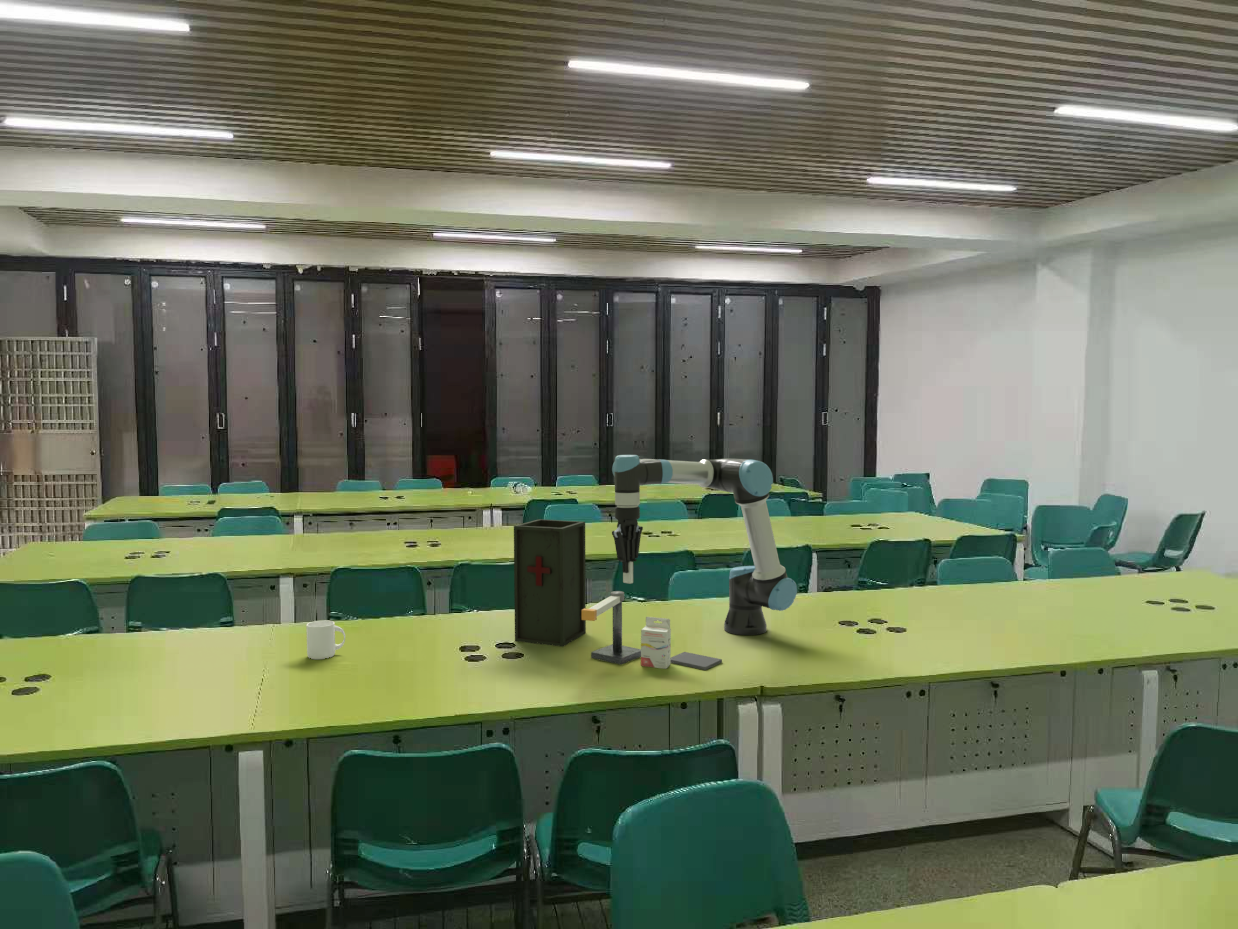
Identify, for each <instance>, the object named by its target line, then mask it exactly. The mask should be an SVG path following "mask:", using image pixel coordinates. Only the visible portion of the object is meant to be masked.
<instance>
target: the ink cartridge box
mask: <svg viewBox="0 0 1238 929" xmlns="http://www.w3.org/2000/svg"><path fill="white" fill-rule="evenodd" d="M657 621H658V622H657ZM659 622H660V623H659ZM640 631H641V632H640V634H641V635H640V649H641V657H640V666H641V667H647V668H656V669H657V668H658V669H664V670H666V669H668V668H669V667H670V665H671V663H670V658H671V648H672V647H671V645H672V642H671V640H672V638H671V637H672V633H671V632H672V628H671V619H670V618H667V617H666V618H665V617H664V618H663V617H654V616H646V617H645V626H644V627H643V628H641V630H640Z"/></svg>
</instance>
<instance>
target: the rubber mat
mask: <svg viewBox="0 0 1238 929" xmlns="http://www.w3.org/2000/svg"><path fill="white" fill-rule="evenodd" d="M721 663H723V659H722V658H717V657H712V656H707V655H704V654H703V655H702V654H698V653H697V654H696V653H693V652H687V651H683V652H681V653H678V654H675V655H674V656H670V664H673V665H674V664H675V665H679V666H683V667H689V668H693V669H698V670H703V671H708V670H709V669H711V668H714V667H715V666H718V665H719V664H721Z"/></svg>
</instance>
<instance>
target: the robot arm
mask: <svg viewBox="0 0 1238 929" xmlns="http://www.w3.org/2000/svg"><path fill="white" fill-rule="evenodd" d="M611 471H612V472H611V473H612V474H613V476H614V505H615V507H614V517H615V518H614V519H615V520H617V524H616V527H617V528H616V529H615V530H611V535H612V537H613V539H614V546H615V552H616V558H617V561H618V562H621V563H622V567H621V568H622V582H623V583H624V584H630V585H631V584H633V583H634V562H637V561H638V560H637V559H639V551H640V545H641V538H642V533H643V530H644V529H643V528H644V527H643V526H641V525H639V523H638V520H639V519H640V517H641V515H640V514H641V512H640V511H641V508H640V506H639V505H641V502H640V501H641V499H640V498H641V494H640V490H641V489H640V486H646V485H648V486H649V485H662V484H663V485H664V484H684V485H698V487H701V488H707V489H708V488H709V489H714V490H718V491H723V492H727V493H732V494H733V498H734V503H735V504H736V505H738V506H740V508H741V512H742V516H743V517H742V518H743V521H744V525H745V529H746V534H747V539H748V544H749V547H750V552H751V553H750V554H751V557H752V560H753V565H743V566H736V567H735V566H734V567H733V568H731V569H730V571H729V578H728V586H729V587H728V592H729V594H728V595H729V596H728V597H729V598H728V599H729V600H728V601H729V602H728V603H729V606H728V611H727V615H726V617H725V620H724V625H723V628H724V631H725V632H726V633H730V634H734V635H739V636H741V635H742V636H757V635H762V634H764V633H765V634H766V632H767V630H768V628H767V621H766V618H765V616H764V612H763V607H764V608H767V609H769V610H772V611H779V612H782V611H786V610H787V609H789V608H790V607H791V606H792V605H793V603H794V601H795V600H796V597H797V592H798V589H797V588H798V586H797V583H796V581H795V580H794V579H792V578H790V577H789V576H788V574H787V570H786V567H785V566H783V565H782V564H781V562H780V559H779V554H778V549H777V544H776V541H775V536H774V533H773V532H774V531H773V527H772V523H771V518H770V514H769V509H768V504H767V500H768V498H769V497H770V492H771V490H772V487H773V486H772V485H773V483H774V477H773V472H772V470H771V468H770V467H769V466H768V465H767V464H766V463H765V462H763V461H761V460H756V459H750V458H749V459H746V458H732V457H729V458H717V459H701V460H700V461H687V460H673V459H672V460H671V459H660V458H659V459H658V458H657V459H656V458H655V459H654V458H653V459H652V458H640V457H639V455H637V454H619V455H616V456H615V458H614V462H613V464H612V468H611Z"/></svg>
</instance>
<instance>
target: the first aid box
mask: <svg viewBox="0 0 1238 929" xmlns="http://www.w3.org/2000/svg"><path fill="white" fill-rule="evenodd" d="M513 576H514V577H513V587H514V588H513V589H514V590H513V592H514V593H513V595H514V599H513V600H514V601H513V602H514V642H519V643H528V644H536V645H542V646H543V645H544V646H553V647H562V648H564V647H565V646H567V645H569V644H570V643H572V642H573V641H575V640H577V639H578V638H580V637H582V636H584V635H585V634H587V631H586V630H587V627H586V625H587V622H586V621H587V620H582V609H584V608H585V609H587V608H586V607H587V605H586V604H587V603H586V602H587V601H586V592H587V591H586V586H587V584H586V579H587V578H586V521H579V520H578V521H577V520H576V521H575V520H561V519H560V520H557V519H556V520H555V519H541V518H540V519H539V518H538V519H536V520H535V519H534V520H531V521H528V522H524V523H520V524H516V525H513Z"/></svg>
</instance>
